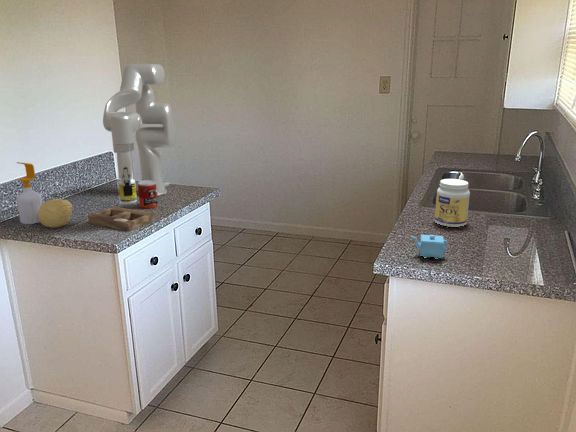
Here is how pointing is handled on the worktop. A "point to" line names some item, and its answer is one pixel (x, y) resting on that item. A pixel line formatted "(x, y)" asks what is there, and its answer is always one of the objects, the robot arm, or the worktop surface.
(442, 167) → the worktop surface
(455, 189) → the supplement tub
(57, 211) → the sculpture
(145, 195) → the canned food
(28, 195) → the soap bottle
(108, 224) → the socket rack
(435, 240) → the teapot
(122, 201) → the pill bottle
